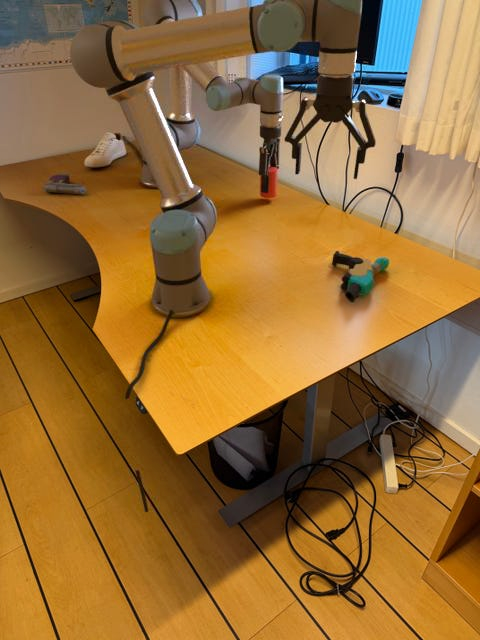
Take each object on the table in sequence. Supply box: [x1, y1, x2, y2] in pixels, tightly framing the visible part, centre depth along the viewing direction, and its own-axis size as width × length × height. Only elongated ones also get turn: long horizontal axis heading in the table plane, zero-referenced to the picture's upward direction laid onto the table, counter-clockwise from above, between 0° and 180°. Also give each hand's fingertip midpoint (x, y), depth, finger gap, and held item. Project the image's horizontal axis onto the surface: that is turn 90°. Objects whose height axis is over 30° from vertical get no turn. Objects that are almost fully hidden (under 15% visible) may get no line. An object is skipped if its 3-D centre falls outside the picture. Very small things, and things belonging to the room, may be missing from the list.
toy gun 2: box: [331, 250, 390, 303], centre depth 132 cm, size 4×26×15 cm
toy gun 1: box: [42, 173, 87, 195], centre depth 192 cm, size 4×19×15 cm
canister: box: [259, 165, 279, 199], centre depth 177 cm, size 6×6×10 cm
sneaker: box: [83, 131, 127, 169], centre depth 218 cm, size 10×29×12 cm, turn 163°
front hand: (326, 174), depth 112 cm, fingers open, 13 cm apart
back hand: (268, 189), depth 179 cm, fingers closed on canister, 6 cm apart
